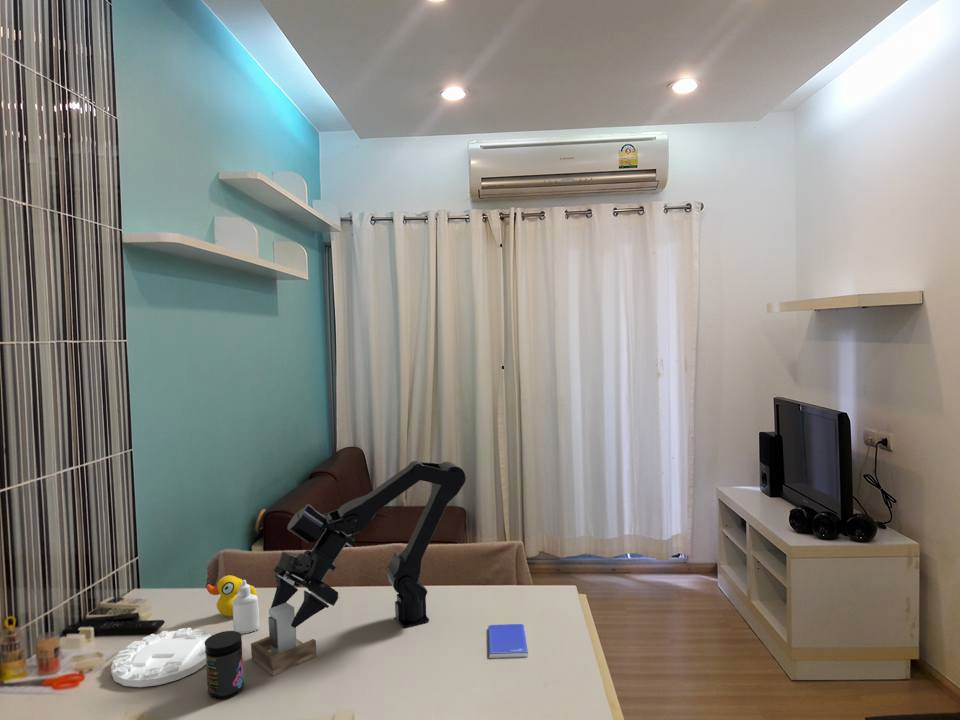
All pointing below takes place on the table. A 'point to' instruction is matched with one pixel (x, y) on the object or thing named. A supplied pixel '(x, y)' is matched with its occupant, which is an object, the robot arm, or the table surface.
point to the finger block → (281, 628)
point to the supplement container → (224, 664)
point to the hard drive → (507, 641)
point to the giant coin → (160, 658)
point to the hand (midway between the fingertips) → (281, 620)
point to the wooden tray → (281, 655)
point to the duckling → (227, 593)
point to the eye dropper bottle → (245, 610)
